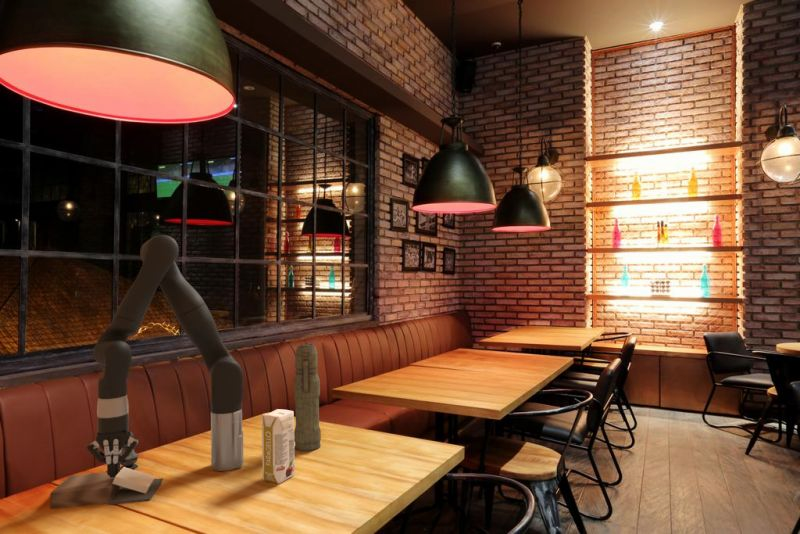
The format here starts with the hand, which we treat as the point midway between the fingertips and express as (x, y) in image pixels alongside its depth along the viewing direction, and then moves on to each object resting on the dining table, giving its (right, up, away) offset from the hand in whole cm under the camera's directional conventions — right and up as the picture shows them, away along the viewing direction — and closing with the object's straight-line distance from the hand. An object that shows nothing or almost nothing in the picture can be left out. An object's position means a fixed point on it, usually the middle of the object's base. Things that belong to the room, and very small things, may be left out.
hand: (113, 476), depth 141 cm
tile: (+5, -2, +1) cm, 5 cm away
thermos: (+47, -5, +35) cm, 59 cm away
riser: (-6, -5, -1) cm, 8 cm away
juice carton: (+43, -4, +9) cm, 44 cm away
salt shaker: (-6, -5, +19) cm, 21 cm away
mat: (+6, -5, +1) cm, 8 cm away
